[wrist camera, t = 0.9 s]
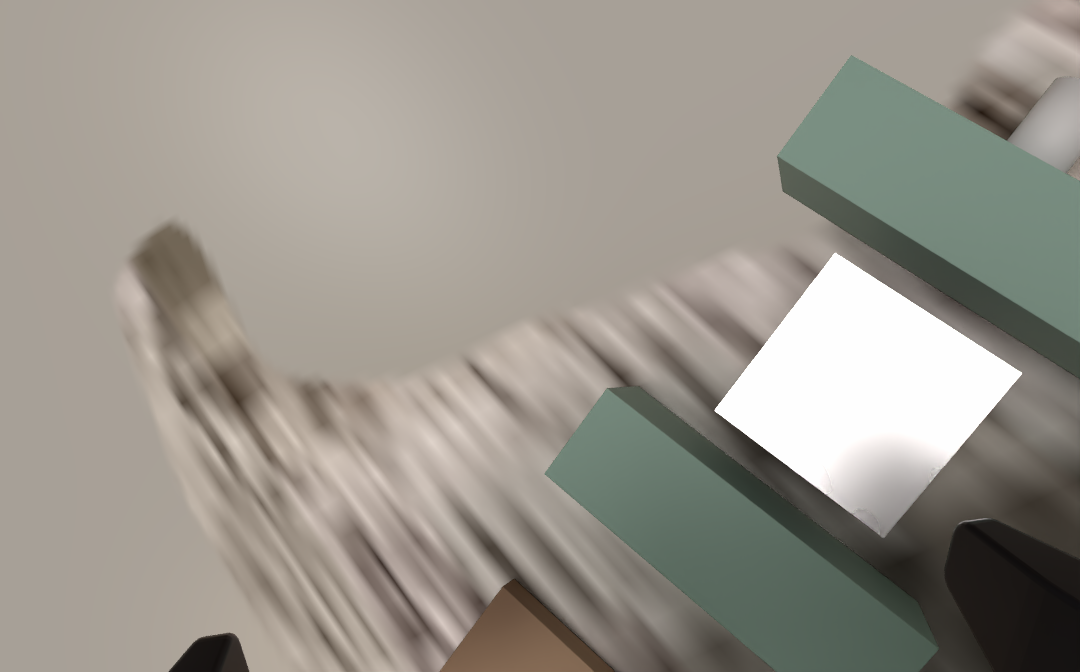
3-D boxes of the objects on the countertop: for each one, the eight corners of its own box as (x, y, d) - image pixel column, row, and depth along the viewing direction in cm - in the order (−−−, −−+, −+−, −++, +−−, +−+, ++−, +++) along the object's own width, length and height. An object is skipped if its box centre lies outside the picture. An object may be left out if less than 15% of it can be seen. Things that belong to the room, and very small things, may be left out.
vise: (1463, 335, 18) (1634, 324, 14) (1011, 812, 21) (1055, 910, 17) (898, 34, 23) (916, -34, 19) (584, 459, 25) (544, 473, 21)
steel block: (967, 373, 22) (1022, 372, 16) (865, 496, 22) (883, 538, 17) (829, 282, 23) (835, 253, 17) (738, 401, 24) (714, 410, 18)
